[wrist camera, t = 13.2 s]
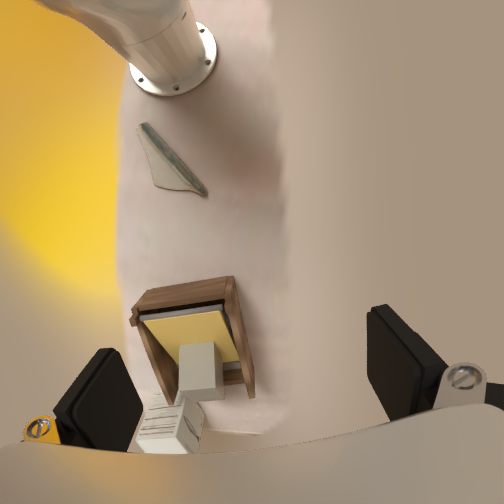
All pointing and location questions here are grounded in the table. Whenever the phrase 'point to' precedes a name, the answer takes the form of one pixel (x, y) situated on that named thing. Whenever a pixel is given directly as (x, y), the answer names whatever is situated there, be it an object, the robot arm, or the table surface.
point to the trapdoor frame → (188, 295)
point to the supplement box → (171, 426)
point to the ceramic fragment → (167, 164)
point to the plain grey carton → (201, 372)
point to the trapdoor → (192, 330)
